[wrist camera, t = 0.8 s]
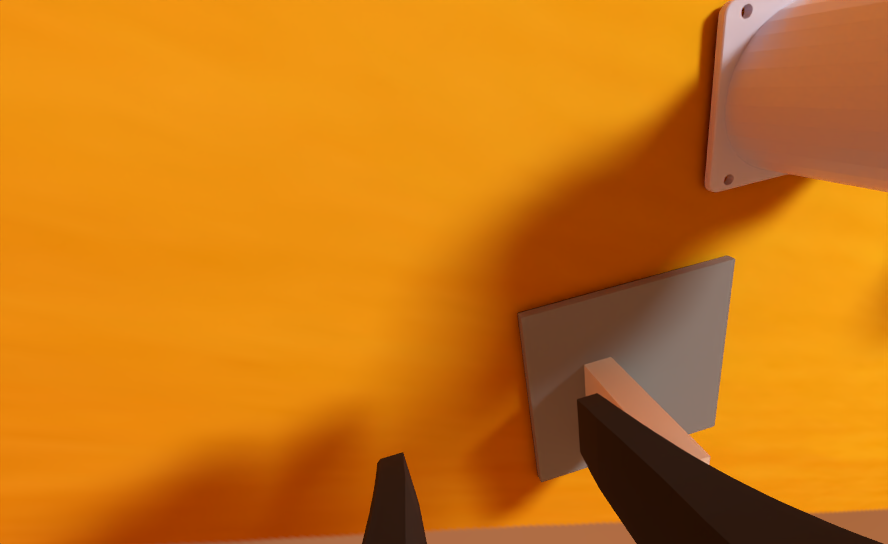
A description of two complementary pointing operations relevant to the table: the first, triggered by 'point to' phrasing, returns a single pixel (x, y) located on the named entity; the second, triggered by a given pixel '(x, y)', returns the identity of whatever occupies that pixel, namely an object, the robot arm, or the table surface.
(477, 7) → the table surface
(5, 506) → the table surface
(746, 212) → the table surface
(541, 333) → the mat
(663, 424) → the block
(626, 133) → the table surface
